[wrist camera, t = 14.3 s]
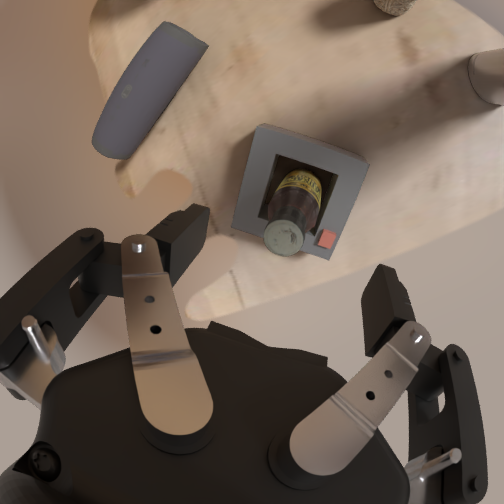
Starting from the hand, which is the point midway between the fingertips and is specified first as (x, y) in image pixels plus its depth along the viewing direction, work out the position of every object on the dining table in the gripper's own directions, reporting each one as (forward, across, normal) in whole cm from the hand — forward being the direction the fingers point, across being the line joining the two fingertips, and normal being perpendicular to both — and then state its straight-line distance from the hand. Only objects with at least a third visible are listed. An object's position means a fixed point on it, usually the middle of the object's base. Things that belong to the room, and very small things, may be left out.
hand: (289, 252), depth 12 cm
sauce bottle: (+33, 0, +7) cm, 34 cm away
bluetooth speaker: (+33, +27, -4) cm, 43 cm away
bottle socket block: (+33, 0, +7) cm, 34 cm away
